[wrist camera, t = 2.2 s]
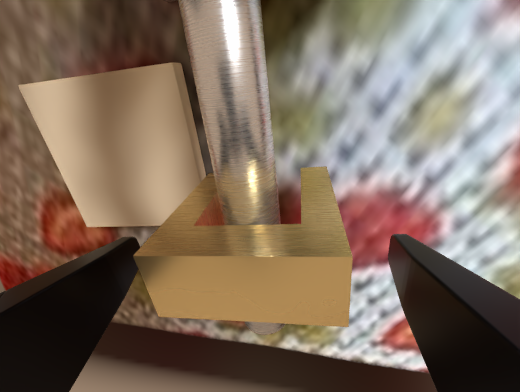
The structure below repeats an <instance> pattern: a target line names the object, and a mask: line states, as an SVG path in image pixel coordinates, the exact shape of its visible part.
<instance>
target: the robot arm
mask: <svg viewBox="0 0 520 392" xmlns="http://www.w3.org/2000/svg"><path fill="white" fill-rule="evenodd" d="M139 249H140V246H139V243H138V241H137V239H136V238H135V237H123V238H120V239H118V240H116V241H114V242H112V243H109V244H107V245H105V246H103V247H101V248H98V249H96V250H94V251H92V252H90V253H87V254H85V255H83V256H81V257H79V258H77V259H74V260H72V261H70V262H68V263H66V264H63V265H61V266H59V267H57V268H55V269H52V270H50V271H48V272H46V273H44V274H41V275H39V276H37V277H35V278H33V279H30V280H28V281H26V282H24V283H22V284H19V285H17V286H15V287H13V288H11V289H9V290H7V291H4V292H2V293H0V392H69V391H70V390H71V388H72V386H73V384H74V383H75V381H76V379H77V378H78V376H79V374H80V372H81V371H82V369H83V367H84V366H85V364H86V362H87V361H88V359H89V357H90V356H91V354H92V352H93V351H94V349H95V347H96V345H97V344H98V342H99V340H100V339H101V337H102V335H103V334H104V332H105V330H106V328H107V327H108V325H109V323H110V322H111V320H112V318H113V317H114V315H115V313H116V312H117V310H118V308H119V306H120V305H121V303H122V301H123V299H124V298H125V296H126V294H127V292H128V290H129V288H130V286H131V283H132V281H133V279H134V277H135V275H136V273H137V271H138V267H137V264H136V262H135V259H134V257H133V255H134V254H135V253H136V252H137V251H138V250H139ZM388 260H389V265H390V268H391V272H392V275H393V279H394V282H395V285H396V289H397V292H398V296H399V299H400V302H401V306H402V308H403V311H404V314H405V316H406V319H407V321H408V323H409V326H410V328H411V330H412V333H413V335H414V337H415V340H416V342H417V345H418V347H419V349H420V352H421V354H422V356H423V359H424V361H425V364H426V366H427V368H428V371H429V373H430V375H431V378H432V380H433V382H434V385H435V387H436V390H437V392H520V299H518V298H516V297H515V296H513V295H511V294H509V293H508V292H506V291H504V290H503V289H501V288H499V287H497V286H496V285H494V284H492V283H490V282H489V281H487V280H485V279H483V278H482V277H480V276H478V275H477V274H475V273H473V272H471V271H470V270H468V269H466V268H464V267H463V266H461V265H459V264H457V263H456V262H454V261H452V260H450V259H449V258H447V257H445V256H444V255H442V254H440V253H438V252H437V251H435V250H433V249H431V248H430V247H428V246H426V245H424V244H423V243H421V242H419V241H418V240H416V239H414V238H412V237H411V236H409V235H407V234H393V235H392V236H391V239H390V246H389V253H388Z"/></svg>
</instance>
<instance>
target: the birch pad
mask: <svg viewBox="0 0 520 392" xmlns="http://www.w3.org/2000/svg"><path fill="white" fill-rule="evenodd" d="M18 87H19V89H20V91H21V93H22V95H23V97H24V99H25V101H26V103H27V105H28V107H29V109H30V111H31V113H32V115H33V117H34V119H35V121H36V124H37V126H38V128H39V130H40V132H41V134H42V136H43V138H44V140H45V142H46V144H47V146H48V148H49V150H50V152H51V154H52V156H53V158H54V160H55V162H56V164H57V166H58V168H59V170H60V172H61V175H62V177H63V179H64V181H65V183H66V185H67V187H68V189H69V191H70V193H71V195H72V197H73V199H74V201H75V203H76V205H77V207H78V209H79V211H80V213H81V215H82V217H83V219H84V221H85V224H86V226H87V227H118V226H161V225H162V224H163V223H164V222H165V220H166V219H167V218H168V217H169V216H170V215H171V214H172V213H173V212H174V211H175V210H176V209H177V207H178V206H179V205H180V204H181V203H182V202H183V201H184V200H185V199H186V198H187V197H188V195H189V194H190V193H191V192H192V191H193V190H194V189H195V188H196V187H197V186H198V185H199V183H200V182H201V181H202V180H203V179H204V178H205V177H206V173H205V168H204V164H203V159H202V155H201V150H200V145H199V141H198V136H197V132H196V127H195V123H194V118H193V114H192V109H191V105H190V100H189V96H188V91H187V87H186V82H185V78H184V73H183V69H182V64H181V63H173V62H171V63H165V64H158V65H151V66H144V67H138V68H131V69H124V70H118V71H111V72H104V73H97V74H91V75H84V76H77V77H70V78H64V79H57V80H50V81H44V82H37V83H30V84H23V85H18Z"/></svg>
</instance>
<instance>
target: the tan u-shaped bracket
mask: <svg viewBox="0 0 520 392" xmlns="http://www.w3.org/2000/svg"><path fill="white" fill-rule="evenodd" d="M133 257H134V259H135V262H136V264H137V267H138V269H139V271H140V274H141V276H142V278H143V281H144V283H145V286H146V288H147V290H148V293H149V295H150V297H151V300H152V302H153V305H154V307H155V309H156V312H157V314H158V316H159V317H173V318H192V319H210V320H229V321H247V322H266V323H285V324H303V325H322V326H340V327H348V324H349V307H350V290H351V273H352V254H351V250H350V247H349V243H348V240H347V236H346V233H345V229H344V226H343V222H342V219H341V215H340V212H339V208H338V205H337V201H336V198H335V194H334V191H333V187H332V184H331V181H330V177H329V174H328V170H327V167H309V168H301V224H274V225H224V221H223V216H222V211H221V206H220V201H219V196H218V192H217V187H216V182H215V177H214V173H209V174H208V175H207V176H206V177H205V178H204V179H203V180H202V181H201V182H200V183H199V185H198V186H197V187H196V188H195V189H194V190H193V191H192V192H191V193H190V194H189V195H188V197H187V198H186V199H185V200H184V201H183V202H182V203H181V204H180V205H179V206H178V207H177V209H176V210H175V211H174V212H173V213H172V214H171V215H170V216H169V217H168V218H167V219H166V220H165V222H164V223H163V224H162V225H161V226H160V227H159V228H158V229H157V230H156V231H155V232H154V234H153V235H152V236H151V237H150V238H149V239H148V240H147V241H146V242H145V243H144V244H143V245H142V247H141V248H140V249H139V250H138V251H137V252H136V253H135V254H134V255H133Z"/></svg>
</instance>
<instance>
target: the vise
mask: <svg viewBox="0 0 520 392" xmlns="http://www.w3.org/2000/svg"><path fill="white" fill-rule="evenodd" d="M165 1H166V2H172V1H177V0H165ZM178 3H179V8H180V13H181V17H182V22H183V27H184V32H185V37H186V42H187V46H188V51H189V56H190V61H191V66H192V71H193V75H194V80H195V85H196V90H197V95H198V100H199V104H200V109H201V114H202V119H203V124H204V129H205V133H206V138H207V143H208V148H209V153H210V158H211V163H212V167H213V172H214V177H215V182H216V187H217V192H218V196H219V201H220V206H221V211H222V216H223V221H224V225H274V224H281V222H280V211H279V200H278V189H277V178H276V167H275V156H274V145H273V134H272V123H271V112H270V101H269V90H268V79H267V68H266V57H265V46H264V35H263V24H262V13H261V3H260V0H178ZM245 324H246V326H247V327H248V328H249V329H250V330H251V331H253V332H255V333H257V334H262V335H267V334H272V333H275V332H277V331H279V330H280V329H282V328H283V327H284V325H285V323H266V322H247V321H245Z"/></svg>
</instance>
